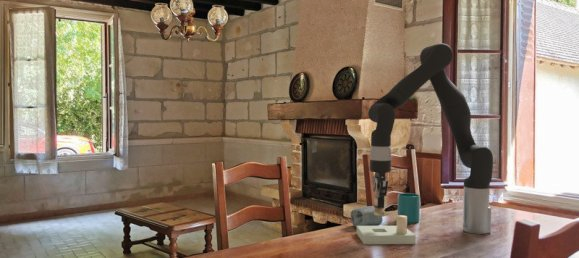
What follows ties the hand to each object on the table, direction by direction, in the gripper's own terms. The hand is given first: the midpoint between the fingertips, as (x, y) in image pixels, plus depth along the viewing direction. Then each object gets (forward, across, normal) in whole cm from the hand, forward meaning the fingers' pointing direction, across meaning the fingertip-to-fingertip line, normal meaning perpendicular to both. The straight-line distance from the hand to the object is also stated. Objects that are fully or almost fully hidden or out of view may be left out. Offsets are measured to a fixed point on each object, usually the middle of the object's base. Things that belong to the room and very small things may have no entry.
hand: (379, 205), depth 168 cm
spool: (+12, +18, +1) cm, 22 cm away
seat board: (+12, 0, -2) cm, 12 cm away
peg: (+3, 0, 0) cm, 3 cm away
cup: (+12, +28, -20) cm, 36 cm away
